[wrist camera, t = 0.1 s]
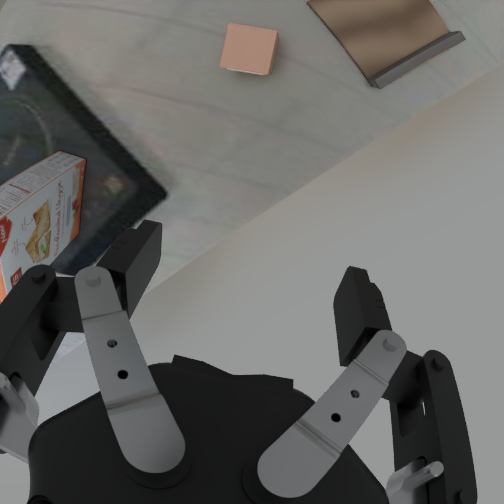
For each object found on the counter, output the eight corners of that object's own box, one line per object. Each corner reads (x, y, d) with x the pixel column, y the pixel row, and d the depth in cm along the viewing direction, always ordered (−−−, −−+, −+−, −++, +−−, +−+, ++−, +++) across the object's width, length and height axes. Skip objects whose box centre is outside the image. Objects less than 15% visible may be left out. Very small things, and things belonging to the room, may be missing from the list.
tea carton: (240, 32, 31) (228, 22, 24) (279, 38, 31) (277, 30, 24) (233, 68, 34) (219, 68, 27) (271, 74, 34) (267, 76, 27)
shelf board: (306, 3, 28) (309, -4, 25) (392, -42, 23) (402, -50, 19) (372, 87, 33) (381, 90, 30) (451, 41, 28) (466, 41, 24)
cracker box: (82, 233, 49) (11, 315, 32) (55, 221, 49) (-18, 296, 31) (89, 158, 42) (-6, 227, 24) (59, 148, 41) (-37, 209, 24)
